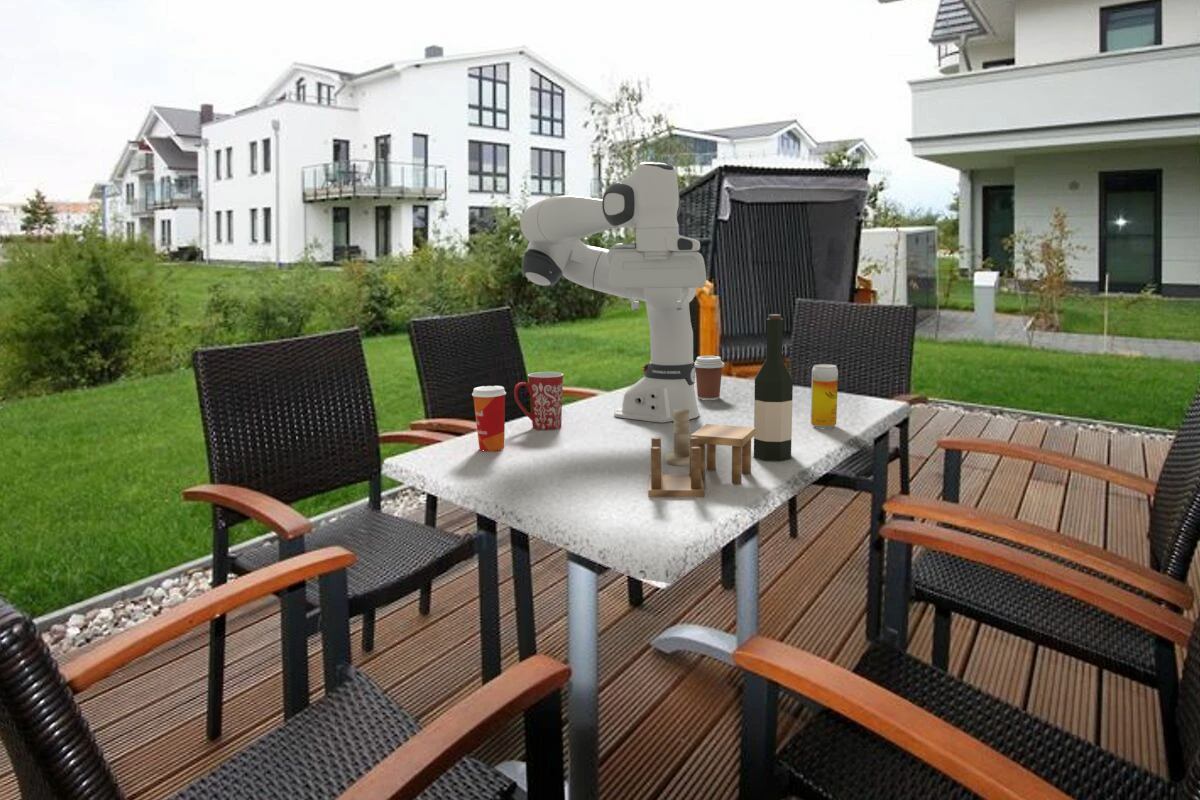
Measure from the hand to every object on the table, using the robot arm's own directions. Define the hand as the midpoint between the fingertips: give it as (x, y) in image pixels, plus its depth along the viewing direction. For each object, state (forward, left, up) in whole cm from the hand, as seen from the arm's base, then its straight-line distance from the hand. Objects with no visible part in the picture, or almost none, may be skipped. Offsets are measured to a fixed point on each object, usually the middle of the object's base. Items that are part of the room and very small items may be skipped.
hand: (657, 309), depth 170 cm
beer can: (+29, +38, -32) cm, 57 cm away
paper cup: (-37, -8, -31) cm, 50 cm away
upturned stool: (+12, -22, -32) cm, 40 cm away
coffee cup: (-8, +64, -32) cm, 71 cm away
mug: (-37, +14, -32) cm, 51 cm away
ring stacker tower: (+7, -4, -31) cm, 32 cm away
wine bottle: (+23, +6, -32) cm, 40 cm away
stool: (+18, -11, -31) cm, 38 cm away
